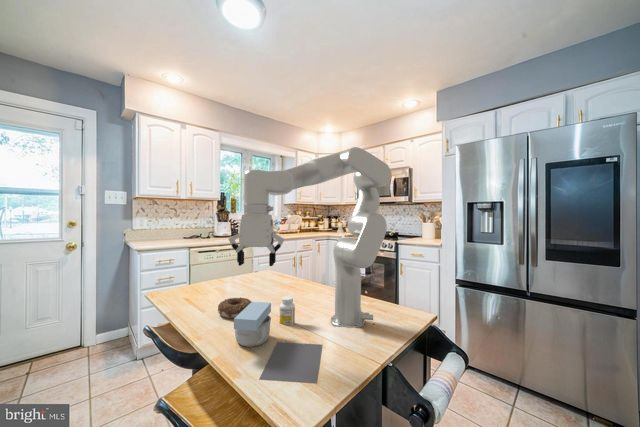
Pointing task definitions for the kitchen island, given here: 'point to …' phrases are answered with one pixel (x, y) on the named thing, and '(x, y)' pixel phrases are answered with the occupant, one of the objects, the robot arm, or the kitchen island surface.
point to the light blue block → (252, 316)
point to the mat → (293, 363)
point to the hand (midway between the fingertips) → (256, 265)
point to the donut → (232, 307)
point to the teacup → (254, 334)
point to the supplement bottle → (287, 311)
